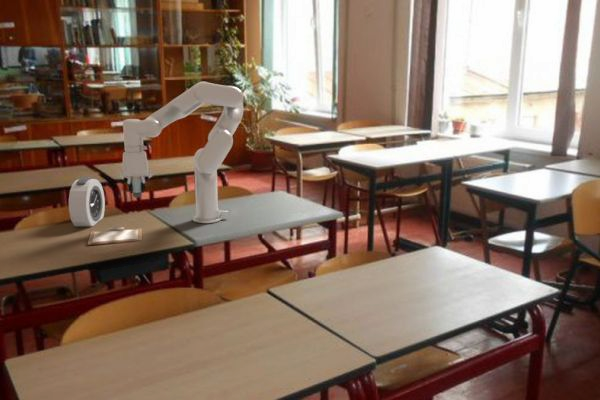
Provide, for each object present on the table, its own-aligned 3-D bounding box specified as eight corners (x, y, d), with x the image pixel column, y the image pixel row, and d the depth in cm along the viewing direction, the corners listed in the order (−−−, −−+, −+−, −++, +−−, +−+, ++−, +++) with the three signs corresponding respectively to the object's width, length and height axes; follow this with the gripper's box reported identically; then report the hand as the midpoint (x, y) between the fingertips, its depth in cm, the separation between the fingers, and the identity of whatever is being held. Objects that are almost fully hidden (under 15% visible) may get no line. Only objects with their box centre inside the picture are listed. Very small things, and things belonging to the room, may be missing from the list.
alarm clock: (88, 229, 239) (83, 183, 234) (71, 229, 239) (65, 183, 234) (106, 214, 259) (101, 172, 254) (90, 215, 260) (85, 172, 255)
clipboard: (141, 229, 239) (141, 226, 239) (141, 241, 224) (141, 237, 224) (91, 233, 234) (90, 229, 234) (87, 244, 219) (87, 241, 219)
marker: (142, 194, 243) (140, 171, 240) (142, 197, 239) (140, 173, 236) (132, 195, 242) (130, 172, 239) (132, 197, 238) (130, 174, 235)
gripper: (154, 147, 241) (157, 189, 245) (113, 148, 237) (116, 191, 241) (155, 149, 234) (157, 193, 238) (112, 151, 230) (115, 195, 234)
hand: (137, 192), depth 240 cm, fingers closed on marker, 3 cm apart
